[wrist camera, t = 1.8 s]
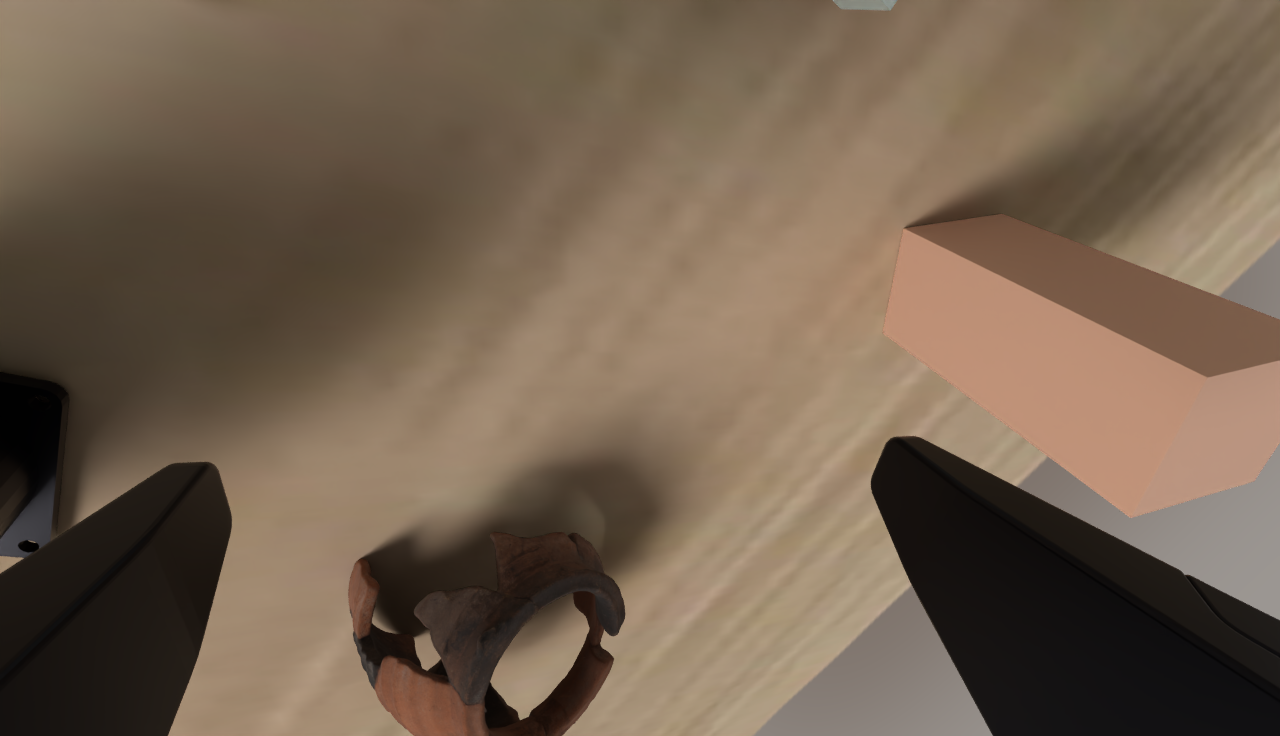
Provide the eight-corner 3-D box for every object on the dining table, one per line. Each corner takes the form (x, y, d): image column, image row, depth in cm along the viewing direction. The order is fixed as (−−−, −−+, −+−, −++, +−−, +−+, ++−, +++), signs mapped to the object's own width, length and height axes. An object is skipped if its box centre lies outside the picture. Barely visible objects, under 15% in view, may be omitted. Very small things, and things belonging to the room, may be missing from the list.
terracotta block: (882, 332, 25) (1130, 518, 16) (903, 228, 23) (1207, 377, 14) (972, 315, 26) (1253, 481, 17) (1002, 213, 24) (1345, 344, 15)
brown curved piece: (328, 493, 22) (442, 609, 17) (536, 449, 29) (663, 521, 24) (321, 760, 25) (418, 930, 20) (513, 663, 32) (622, 770, 27)
